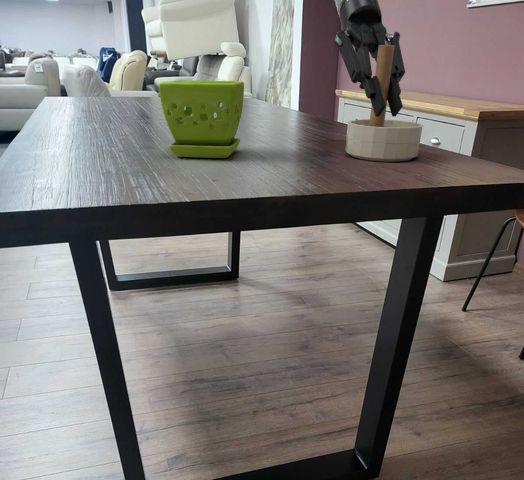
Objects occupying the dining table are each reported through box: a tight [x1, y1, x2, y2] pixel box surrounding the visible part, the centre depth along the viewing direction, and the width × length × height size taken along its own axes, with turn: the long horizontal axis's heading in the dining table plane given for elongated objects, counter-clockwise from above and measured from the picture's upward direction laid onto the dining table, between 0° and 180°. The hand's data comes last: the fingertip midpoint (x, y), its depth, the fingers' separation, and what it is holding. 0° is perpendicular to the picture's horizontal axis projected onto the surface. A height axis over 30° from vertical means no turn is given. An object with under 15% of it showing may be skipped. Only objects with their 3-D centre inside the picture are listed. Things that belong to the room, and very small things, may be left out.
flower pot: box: [158, 80, 245, 159], centre depth 93 cm, size 14×14×13 cm
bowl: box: [344, 118, 424, 162], centre depth 97 cm, size 14×14×6 cm
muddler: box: [369, 45, 394, 127], centre depth 92 cm, size 5×5×16 cm
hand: (389, 111), depth 90 cm, fingers closed on muddler, 3 cm apart
